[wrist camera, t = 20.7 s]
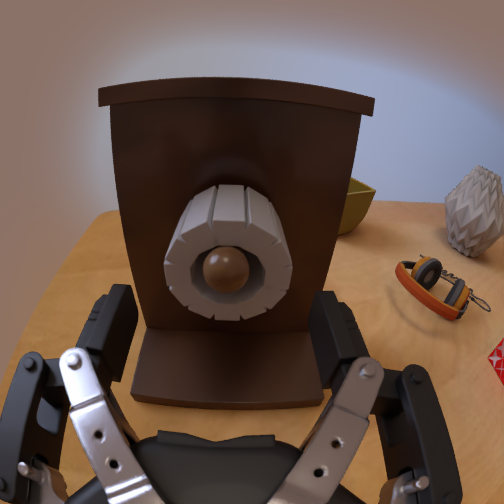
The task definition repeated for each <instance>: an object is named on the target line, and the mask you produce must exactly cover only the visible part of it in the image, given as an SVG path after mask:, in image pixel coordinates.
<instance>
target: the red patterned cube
mask: <svg viewBox="0 0 504 504" xmlns="http://www.w3.org/2000/svg"><path fill="white" fill-rule="evenodd" d="M488 359H489V361H490V362H491V364H492V366H493V367H494V369H495V371H496V372H497V374H498V376H499V377H500V379H501V381H502V383H503V385H504V338H503V339H502V341H501V342H500V343H499V344H498V346H497V347H496V348H495V349H494V351H493V352H492V353H491V354H490V355H489V356H488Z"/></svg>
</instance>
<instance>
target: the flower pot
mask: <svg viewBox="0 0 504 504" xmlns="http://www.w3.org/2000/svg"><path fill="white" fill-rule="evenodd" d="M375 192H376V190H374V189H373V188H371V187H369V186H368V185H366V184H364V183H362V182H360V181H358V180H356V179H353V178H352V177H351V178H350V183H349V188H348V193H347V197H346V202H345V206H344V211H343V215H342V219H341V224H340V228H339V232H338V235H340V234H344V233H347V232H350V231H352V230H353V229H354V228H355V227H356V226H358V225H359V223H360V222H361V221H362V220H363V218H364V217H365V215H366V213H367V211H368V209H369V207H370V204H371V202H372V200H373V197H374V195H375Z"/></svg>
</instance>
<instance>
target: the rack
mask: <svg viewBox="0 0 504 504" xmlns="http://www.w3.org/2000/svg"><path fill="white" fill-rule="evenodd" d="M98 102H99V103H98V104H99V107H102V106H108V105H110V123H111V140H112V153H113V164H114V173H115V182H116V190H117V197H118V203H119V210H120V216H121V222H122V228H123V233H124V239H125V244H126V249H127V253H128V258H129V262H130V267H131V271H132V275H133V279H134V283H135V287H136V291H137V295H138V299H139V302H140V306H141V310H142V313H143V316H144V320H145V323H146V326H147V329H146V332H145V336H144V339H143V343H142V347H141V351H140V354H139V358H138V362H137V366H136V370H135V374H134V378H133V383H132V387H131V391H130V394H131V396H132V397H133V399H134V400H135V401H140V402H147V403H154V404H161V405H170V406H179V407H191V408H206V409H234V410H254V409H282V408H296V407H308V406H318V405H320V404H321V403H322V401H323V400H324V394H323V389H322V385H321V380H320V376H319V371H318V367H317V362H316V358H315V354H314V350H313V345H312V341H311V337H310V333H309V329H308V315H309V312H310V308H311V305H312V301H313V298H314V294H315V292H316V291H322V290H323V287H324V284H325V280H326V277H327V273H328V270H329V266H330V262H331V259H332V255H333V251H334V248H335V244H336V240H337V236H338V232H339V228H340V224H341V219H342V215H343V211H344V206H345V202H346V197H347V193H348V188H349V183H350V178H351V173H352V168H353V163H354V158H355V152H356V145H357V140H358V134H359V128H360V122H361V114H363V115H367V116H371V117H372V116H373V110H374V103H375V98H372V97H368V96H364V95H360V94H356V93H352V92H348V91H343V90H338V89H333V88H328V87H322V86H317V85H311V84H304V83H297V82H289V81H281V80H270V79H258V78H242V77H188V78H187V77H186V78H170V79H158V80H148V81H140V82H132V83H126V84H119V85H113V86H107V87H102V88H99V89H98ZM219 185H243V186H244V191H245V190H246V188H247V187H250V188H251V189H253V190H255V191H256V192H258V193H260V194H261V195H263V196H265V197H266V198H268V202H271V203H272V205H273V207H274V209H275V211H276V213H277V215H278V217H279V219H280V222H281V225H282V229H283V232H284V236H285V239H286V243H287V246H288V250H289V253H290V257H291V261H292V267H293V269H292V274H291V280H290V285H289V289H288V290H287V289H286V294H285V295H284V296H283V297H282V298H281V299H280V300H279V301H278V302H277V303H276V304H275V306H274V307H273V308H272V309H269V308H266V312H264V313H262V314H259V315H256V316H253V317H251V318H248V319H243V317H242V316H241V315H240V320H239V321H234V320H215V316H214V315H213V316H212V317H211V318H207V317H205V316H202V315H200V314H198V313H195V312H193V311H191V310H189V309H188V307H189V305H187V306H183V305H182V304H181V303H180V301H179V300H178V299H177V298H176V297H175V296H174V295H173V294H172V292H171V291H170V290H169V289H170V286H167V283H166V277H165V270H164V262H165V256H166V253H167V251H168V248H169V246H170V243H171V240H172V238H173V235H174V233H175V230H176V228H177V225H178V223H179V220H180V218H181V216H182V214H183V212H184V210H185V209H186V207H187V205H188V203H189V202H190V200H193V199H194V196H196V195H197V194H199V193H201V192H203V191H205V190H207V189H209V188H211V187H213V186H215V187H216V188H217V190H218V188H219ZM209 250H211V252H210V253H209V254H208V255H207V257H206V259H205V261H204V264H203V276H204V279H205V281H206V283H207V284H208V285H209V286H210V287H211V288H212V289H213V290H215V291H217V292H220V293H232V292H235V291H237V290H239V289H240V288H242V287H243V286H244V284H245V283H246V281H247V280H248V277H249V272H250V268H249V263H248V260H247V258H246V257H245V255H244V254H243V253H246V252H248V251H246V250H245V249H243V248H241V247H239V246H216V247H214V248H211V249H209Z"/></svg>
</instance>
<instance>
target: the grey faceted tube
mask: <svg viewBox="0 0 504 504" xmlns="http://www.w3.org/2000/svg"><path fill="white" fill-rule="evenodd" d="M216 246H239V247H241V248H243V249H245V250H246V251H248V252H246V253H243V254H244V255H245V257H246V258H247V260H248V263H249V268H250V272H249V277H248V280H247V281H246V283H245V284H244V286H243V287H242V288H240V289H239V290H237V291H235V292H232V293H220V292H217V291H215V290H213V289H212V288H211V287H210V286H209V285H208V284H207V283H206V281H205V279H204V276H203V264H204V261H205V259H206V257H207V255H208V254H209V253H210V252H211V250H209V249H211V248H214V247H216ZM292 269H293V267H292V261H291V257H290V253H289V250H288V246H287V243H286V239H285V236H284V232H283V229H282V225H281V222H280V219H279V217H278V215H277V213H276V211H275V209H274V207H273V205H272V203H271V202H268V198H266V197H265V196H263V195H261V194H260V193H258V192H256V191H255V190H253V189H251V188H250V187H247V188H246V190H245V191H244V186H243V185H219V188H218V190H217V188H216V187H215V186H213V187H211V188H209V189H207V190H205V191H203V192H201V193H199V194H197V195H196V196H194V199H193V200H190V202H189V203H188V205H187V207H186V209H185V210H184V212H183V214H182V216H181V218H180V220H179V223H178V225H177V228H176V230H175V233H174V235H173V238H172V240H171V243H170V246H169V248H168V251H167V253H166V256H165V262H164V270H165V277H166V283H167V286H170V289H169V290H170V291H171V292H172V294H173V295H174V296H175V297H176V298H177V299H178V300H179V301H180V303H181V304H182V305H183V306H187V305H189V307H188V309H189V310H191V311H193V312H195V313H198V314H200V315H202V316H205V317H207V318H211V317H212V316H213V315H214V316H215V320H234V321H239V320H240V315H241V316H242V317H243V319H248V318H251V317H253V316H256V315H259V314H262V313H264V312H266V308H269V309H272V308H273V307H274V306H275V304H276V303H277V302H278V301H279V300H280V299H281V298H282V297H283V296H284V295H285V294H286V289H287V290H288V289H289V285H290V280H291V274H292Z"/></svg>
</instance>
